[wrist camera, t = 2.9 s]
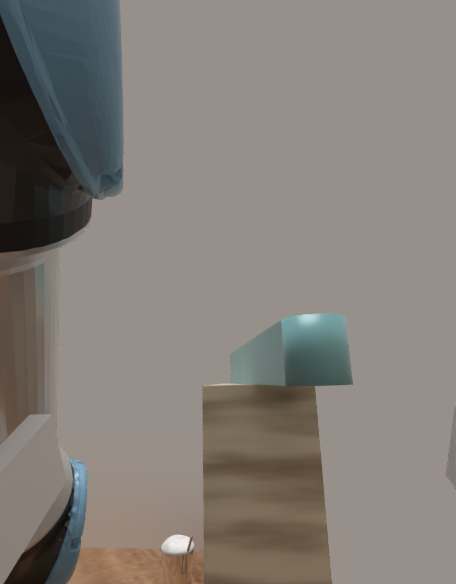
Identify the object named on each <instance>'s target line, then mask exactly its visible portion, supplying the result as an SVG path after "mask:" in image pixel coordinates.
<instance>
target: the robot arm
mask: <svg viewBox="0 0 456 584" xmlns="http://www.w3.org/2000/svg"><path fill="white" fill-rule="evenodd" d="M123 143H124V142H123V90H122V52H121V25H120V0H0V584H67V582H68V581H69V580H70V578H71V577H72V575H73V572H74V570H75V567H76V564H77V561H78V557H79V552H80V545H81V539H80V538H81V536H82V532H83V528H84V521H85V512H86V500H87V471H86V467H85V465H84V463H83V462H82V461H79V460H72V459H69V458H68V456H67V454H66V453H65V452H64V450H63V449H62V448H61V447H60V446H59V445H58V440H57V436H56V429H57V379H58V331H59V282H60V280H59V279H60V248H62V247H64V246H65V245H67V244H68V243H70V242H71V241H73V240H75V239H76V238H78V237H79V236H80V235H81V234H82V233H84V232H85V230H86V229H87V228H88V226H89V223H90V221H91V209H92V198H95V199H101V200H102V199H105V198H106V197H113V196H116V195H118V194H120V193H121V191H122V188H123ZM446 476H447V478H448V479H449V480H450V482H451V483H452V484H453V486H454V487H455V489H456V404H455V408H454V416H453V424H452V432H451V439H450V447H449V454H448V462H447V469H446Z"/></svg>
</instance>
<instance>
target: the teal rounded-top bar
mask: <svg viewBox="0 0 456 584" xmlns="http://www.w3.org/2000/svg"><path fill="white" fill-rule="evenodd" d="M230 356H231V357H230V358H231V384H252V385H273V386H327V385H351V384H353V382H352V372H351V364H350V354H349V345H348V336H347V327H346V318H345V316H343V315H339V314H308V315H299V316H292V317H288V318H284V319H282V320H280V321H279V322H277V323H276V324H274V325H273V326H271V327H270V328H268V329H267V330H265V331H264V332H262V333H261V334H259V335H258V336H256V337H255V338H254V339H252V340H251V341H249V342H248V343H246V344H245V345H243V346H242V347H240V348H239V349H237V350H236V351H234V352H233V353H231V354H230Z"/></svg>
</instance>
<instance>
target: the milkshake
mask: <svg viewBox="0 0 456 584" xmlns="http://www.w3.org/2000/svg"><path fill="white" fill-rule="evenodd" d="M192 539H193V536H192V537H190V538H189V537H187V536H183V535H174V536H171V537H169V538H168V539H167V540H166V541H165V542H164V543H163V544H162V547H161V552H162V566H163V578H164V584H191V575H192V564H193V553H194V543H193V541H192Z"/></svg>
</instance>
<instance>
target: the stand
mask: <svg viewBox="0 0 456 584" xmlns="http://www.w3.org/2000/svg"><path fill="white" fill-rule="evenodd" d="M203 497H204V499H203V500H204V584H332V580H331V569H330V557H329V545H328V534H327V522H326V510H325V499H324V487H323V475H322V464H321V452H320V440H319V429H318V417H317V405H316V394H315V386H273V385H252V384H214V385H206V386H203Z"/></svg>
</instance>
